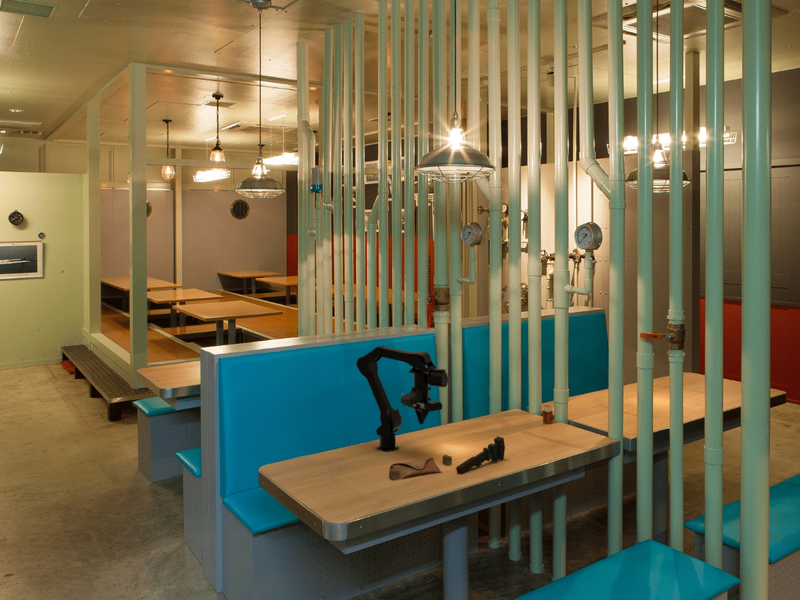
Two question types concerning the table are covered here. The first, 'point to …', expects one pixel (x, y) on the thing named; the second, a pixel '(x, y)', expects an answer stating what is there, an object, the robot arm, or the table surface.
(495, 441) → the adjustable wrench
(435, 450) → the table surface
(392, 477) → the block
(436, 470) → the sunglasses case
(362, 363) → the robot arm
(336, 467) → the table surface
